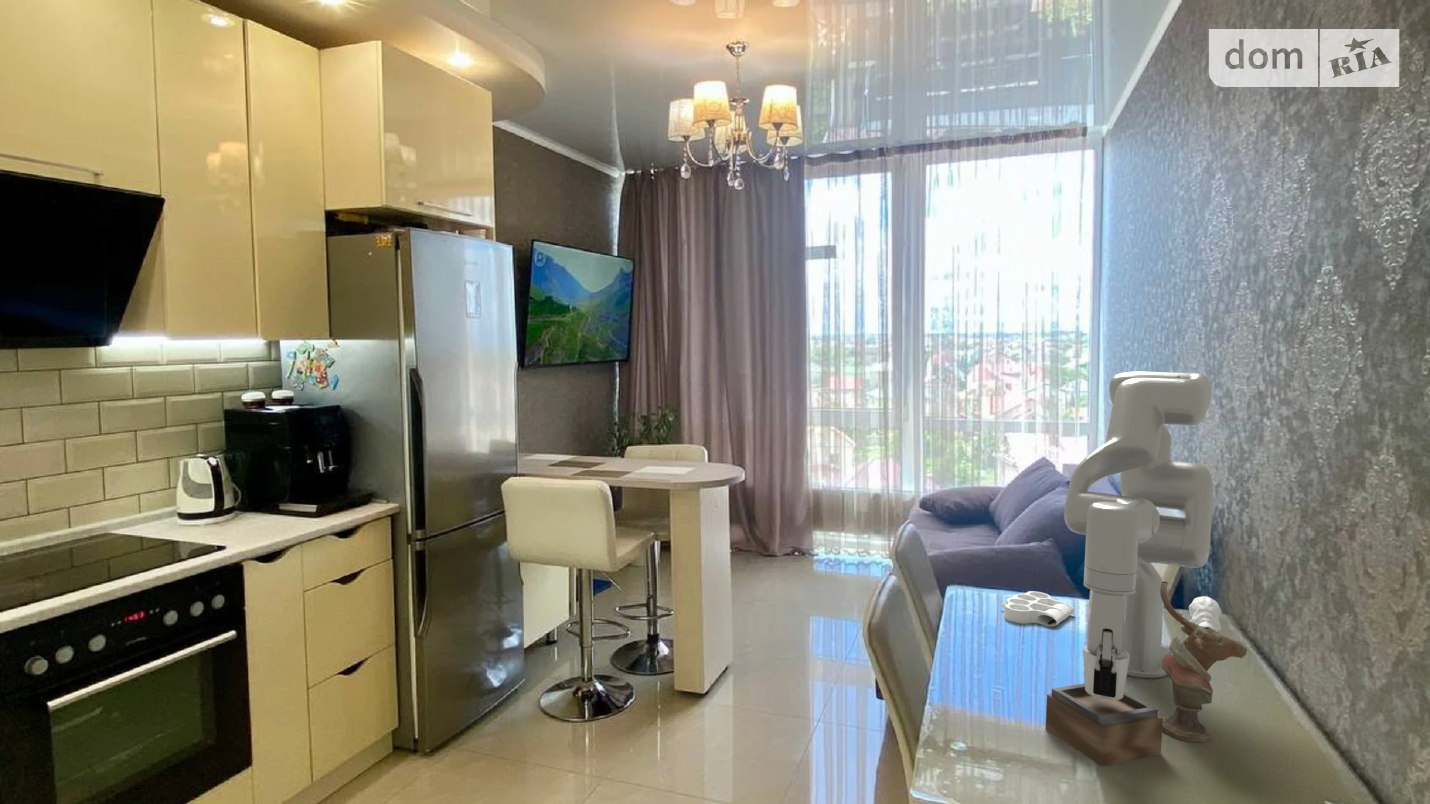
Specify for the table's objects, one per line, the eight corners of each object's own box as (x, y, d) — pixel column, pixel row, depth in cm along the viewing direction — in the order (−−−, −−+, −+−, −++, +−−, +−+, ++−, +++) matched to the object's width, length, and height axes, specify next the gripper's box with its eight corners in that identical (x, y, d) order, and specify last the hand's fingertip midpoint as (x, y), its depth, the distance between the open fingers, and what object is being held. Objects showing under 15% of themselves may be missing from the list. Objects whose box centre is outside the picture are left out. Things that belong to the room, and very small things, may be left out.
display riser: (1101, 718, 134) (1103, 678, 133) (1160, 753, 122) (1163, 710, 122) (1045, 728, 130) (1047, 687, 129) (1101, 765, 118) (1103, 720, 118)
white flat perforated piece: (1051, 633, 175) (989, 617, 185) (1078, 614, 188) (1018, 600, 198) (1052, 619, 174) (989, 603, 184) (1078, 600, 188) (1019, 587, 198)
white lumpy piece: (1222, 596, 174) (1225, 616, 164) (1219, 631, 175) (1222, 654, 165) (1189, 591, 177) (1190, 611, 167) (1187, 626, 179) (1188, 647, 168)
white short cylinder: (1133, 704, 121) (1135, 661, 121) (1086, 699, 123) (1089, 656, 122) (1120, 685, 128) (1122, 644, 128) (1075, 681, 129) (1077, 641, 129)
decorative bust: (1262, 737, 125) (1242, 586, 125) (1198, 756, 122) (1177, 602, 122) (1206, 712, 136) (1187, 573, 136) (1146, 729, 133) (1126, 587, 133)
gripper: (1085, 562, 133) (1080, 663, 135) (1082, 590, 118) (1077, 703, 119) (1134, 569, 130) (1128, 671, 131) (1138, 598, 115) (1131, 714, 116)
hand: (1104, 685), depth 125 cm, fingers closed on white short cylinder, 6 cm apart
